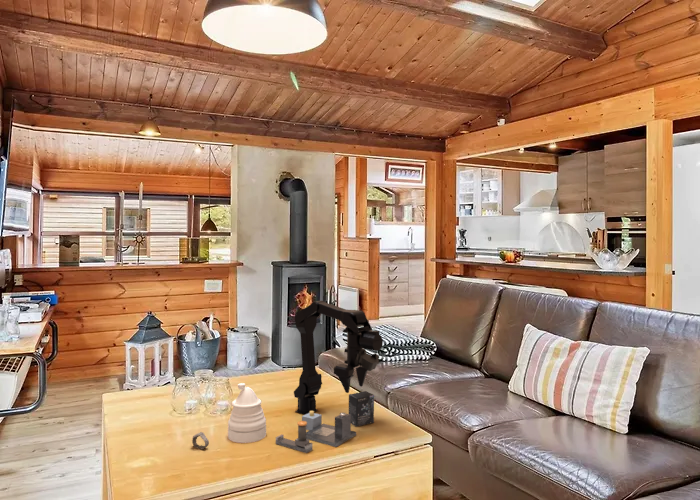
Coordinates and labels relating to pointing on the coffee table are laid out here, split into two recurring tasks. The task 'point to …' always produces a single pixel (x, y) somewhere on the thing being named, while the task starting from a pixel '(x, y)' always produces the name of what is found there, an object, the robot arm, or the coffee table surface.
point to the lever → (301, 434)
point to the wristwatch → (202, 438)
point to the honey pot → (246, 417)
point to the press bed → (333, 431)
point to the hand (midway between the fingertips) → (354, 389)
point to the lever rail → (292, 444)
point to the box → (361, 408)
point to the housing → (312, 420)
